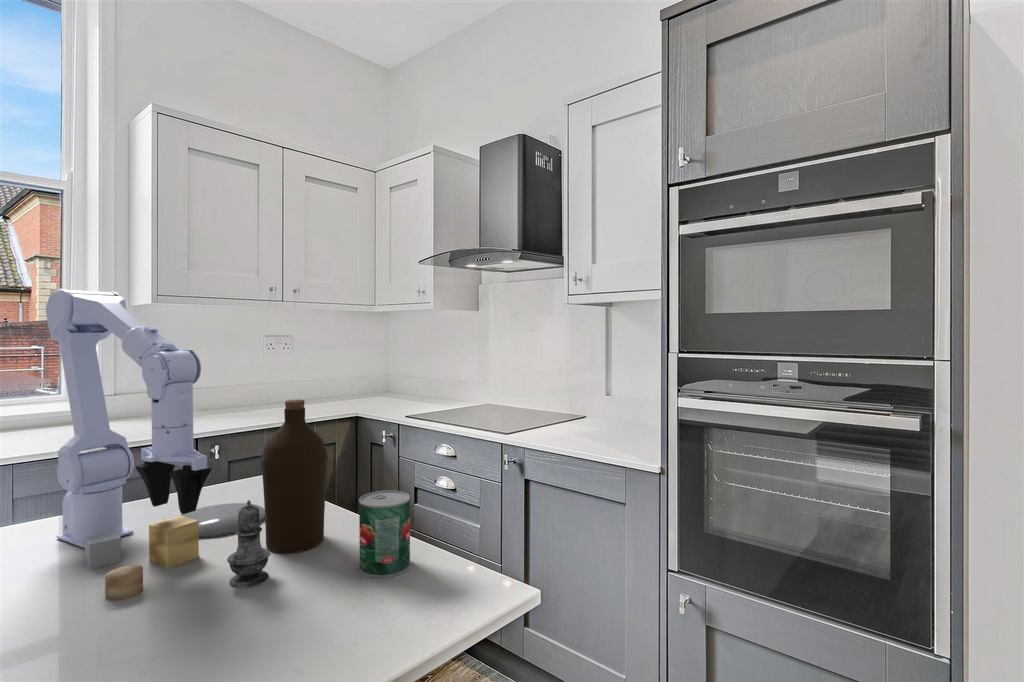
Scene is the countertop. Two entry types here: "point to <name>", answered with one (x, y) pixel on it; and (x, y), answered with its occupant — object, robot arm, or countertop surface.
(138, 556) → the countertop surface
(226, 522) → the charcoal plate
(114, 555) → the slate grey block
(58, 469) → the robot arm
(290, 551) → the olive oil
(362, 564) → the canned tomato
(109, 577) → the oak cylinder
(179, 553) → the ochre block
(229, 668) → the countertop surface
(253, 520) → the salt shaker
